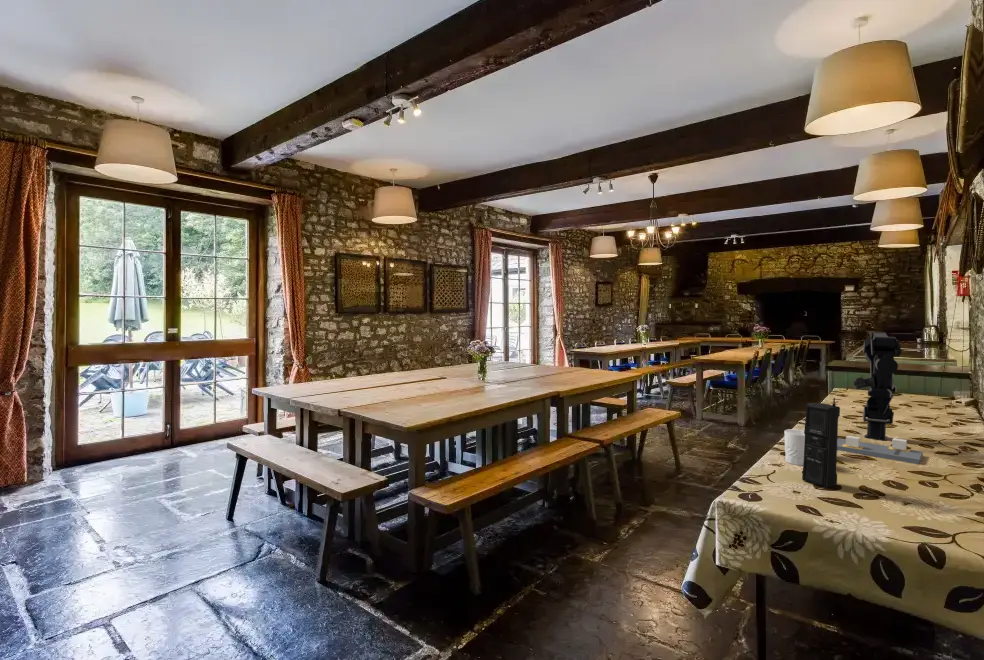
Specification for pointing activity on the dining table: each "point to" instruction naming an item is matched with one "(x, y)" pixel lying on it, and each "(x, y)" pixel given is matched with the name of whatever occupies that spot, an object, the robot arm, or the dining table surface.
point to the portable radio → (821, 444)
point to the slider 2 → (899, 444)
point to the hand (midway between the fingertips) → (881, 413)
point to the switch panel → (881, 451)
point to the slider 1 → (852, 441)
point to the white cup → (794, 446)
